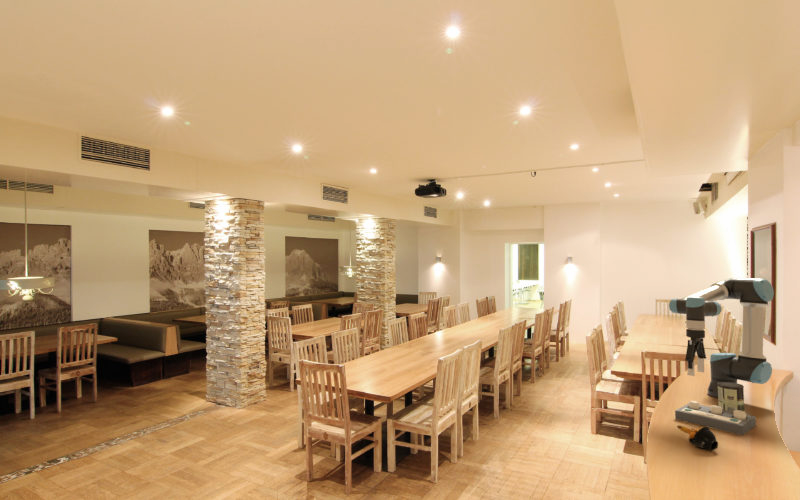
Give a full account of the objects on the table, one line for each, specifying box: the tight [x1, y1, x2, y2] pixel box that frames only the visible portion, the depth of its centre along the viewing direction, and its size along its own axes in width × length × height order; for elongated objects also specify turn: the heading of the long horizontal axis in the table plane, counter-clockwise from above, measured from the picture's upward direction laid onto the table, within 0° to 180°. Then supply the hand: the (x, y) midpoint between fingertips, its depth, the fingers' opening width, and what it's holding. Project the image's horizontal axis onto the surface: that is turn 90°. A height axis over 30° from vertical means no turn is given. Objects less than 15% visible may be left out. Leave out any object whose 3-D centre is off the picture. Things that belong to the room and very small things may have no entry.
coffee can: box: [717, 382, 745, 412], centre depth 215 cm, size 10×10×14 cm
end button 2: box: [734, 410, 747, 420], centre depth 199 cm, size 4×4×5 cm
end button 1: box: [688, 400, 701, 410], centre depth 213 cm, size 4×4×5 cm
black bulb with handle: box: [676, 425, 719, 451], centre depth 181 cm, size 9×11×18 cm
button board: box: [674, 403, 757, 436], centre depth 204 cm, size 18×26×4 cm
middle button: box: [709, 404, 722, 415], centre depth 206 cm, size 4×4×5 cm
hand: (695, 373), depth 213 cm, fingers open, 13 cm apart
